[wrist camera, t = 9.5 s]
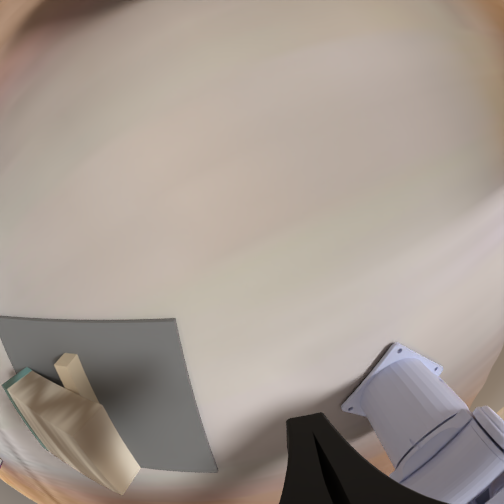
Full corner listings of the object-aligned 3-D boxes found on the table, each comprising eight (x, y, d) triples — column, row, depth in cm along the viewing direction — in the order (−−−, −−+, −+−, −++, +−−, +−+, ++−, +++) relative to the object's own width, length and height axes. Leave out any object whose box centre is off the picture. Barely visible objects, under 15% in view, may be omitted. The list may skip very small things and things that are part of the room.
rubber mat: (175, 318, 18) (167, 335, 16) (217, 469, 22) (217, 485, 20) (-5, 315, 17) (-19, 324, 15) (65, 447, 22) (59, 459, 19)
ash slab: (72, 436, 11) (1, 385, 14) (122, 496, 13) (43, 447, 16) (102, 404, 15) (26, 366, 18) (141, 467, 17) (61, 428, 20)
